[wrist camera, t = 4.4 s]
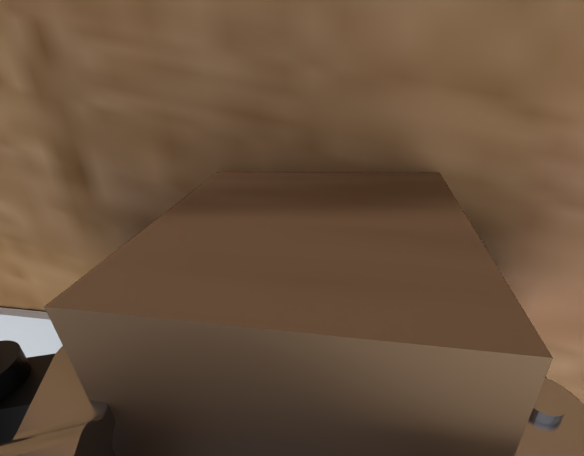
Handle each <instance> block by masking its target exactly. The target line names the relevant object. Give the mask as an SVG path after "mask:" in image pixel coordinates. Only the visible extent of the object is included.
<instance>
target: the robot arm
mask: <svg viewBox="0 0 584 456" xmlns="http://www.w3.org/2000/svg"><path fill="white" fill-rule="evenodd" d="M115 423H116V421H115V418H114V416H113V414H112V412H111V409H110V407H109V405H108V403H105V402H99V401H93V400H89V399H88V397H87V395H86V393H85V391H84V388H83V386H82V384H81V382H80V380H79V378H78V376H77V374H76V372H75V370H74V368H73V366H72V364H71V362H70V359H69V357H68V355H67V353H66V351H65V349H64V347H63V346H62V347H61V348H60V349H59V350H58V351H57V353H55V354H48V355H41V356H35V357H28V358H26V356H25V354H24V352H23V351H22V349H21V347H20V345H19V344H18V343H17V342H15V341H10V340H4V341H0V456H116V455H115V453H114V451H113V448H112V440H113V432H114V427H115ZM514 456H584V404H583V403H582V402H581V401H580V400H579V399H578V398H577V397H576V396H575V395H573V394H572V393H571V392H570V391H568V390H567V389H565V388H564V387H562V386H561V385H559V384H557V383H556V382H554V381H552V380H549V379H547V377H545V379H544V382H543V384H542V387H541V389H540V392H539V394H538V397H537V400H536V402H535V405H534V407H533V410H532V412H531V415H530V417H529V420H528V422H527V425H526V427H525V430H524V433H523V435H522V438H521V440H520V443H519V445H518V448H517V450H516V453H515V455H514Z"/></svg>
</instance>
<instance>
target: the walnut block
mask: <svg viewBox="0 0 584 456" xmlns="http://www.w3.org/2000/svg"><path fill="white" fill-rule="evenodd" d="M44 308H45V310H46V312H47V314H48V316H49V318H50V320H51V322H52V324H53V326H54V328H55V330H56V332H57V335H58V337H59V339H60V341H61V343H62V345H63V347H64V349H65V351H66V353H67V355H68V357H69V359H70V362H71V364H72V366H73V368H74V370H75V372H76V374H77V376H78V378H79V380H80V382H81V384H82V386H83V388H84V391H85V393H86V395H87V397H88V399H89V400H93V401H99V402H105V403H108V405H109V407H110V409H111V412H112V414H113V416H114V418H115V421H116V423H115V427H114V432H113V440H112V448H113V451H114V453H115V455H116V456H514V455H515V453H516V450H517V448H518V445H519V443H520V440H521V438H522V435H523V433H524V430H525V427H526V425H527V422H528V420H529V417H530V415H531V412H532V410H533V407H534V405H535V402H536V400H537V397H538V394H539V392H540V389H541V387H542V384H543V382H544V379H545V377H546V374H547V372H548V369H549V367H550V364H551V362H552V359H553V357H552V356H551V354H550V352H549V351H548V349H547V348H546V346H545V344H544V343H543V341H542V339H541V338H540V336H539V335H538V333H537V331H536V330H535V328H534V326H533V325H532V323H531V321H530V320H529V318H528V317H527V315H526V313H525V312H524V310H523V308H522V307H521V305H520V303H519V302H518V300H517V299H516V297H515V295H514V294H513V292H512V290H511V289H510V287H509V286H508V284H507V282H506V281H505V279H504V277H503V276H502V274H501V272H500V271H499V269H498V268H497V266H496V264H495V263H494V261H493V259H492V258H491V256H490V254H489V253H488V251H487V250H486V248H485V246H484V245H483V243H482V241H481V240H480V238H479V237H478V235H477V233H476V232H475V230H474V228H473V227H472V225H471V223H470V222H469V220H468V219H467V217H466V215H465V214H464V212H463V210H462V209H461V207H460V205H459V204H458V202H457V201H456V199H455V197H454V196H453V194H452V192H451V191H450V189H449V188H448V186H447V184H446V183H445V181H444V179H443V178H442V176H441V174H440V173H363V172H217V173H216V174H215V175H213V176H212V177H211V178H209V179H208V180H207V181H205V182H204V183H203V184H202V185H200V186H199V187H198V188H196V189H195V190H194V191H193V192H191V193H190V194H189V195H187V196H186V197H185V198H184V199H182V200H181V201H180V202H178V203H177V204H176V205H175V206H173V207H172V208H171V209H169V210H168V211H167V212H166V213H164V214H163V215H162V216H160V217H159V218H158V219H157V220H155V221H154V222H153V223H151V224H150V225H149V226H147V227H146V228H145V229H144V230H142V231H141V232H140V233H138V234H137V235H136V236H135V237H133V238H132V239H131V240H129V241H128V242H127V243H126V244H124V245H123V246H122V247H120V248H119V249H118V250H117V251H115V252H114V253H113V254H111V255H110V256H109V257H108V258H106V259H105V260H104V261H102V262H101V263H100V264H99V265H97V266H96V267H95V268H93V269H92V270H91V271H90V272H88V273H87V274H86V275H84V276H83V277H82V278H80V279H79V280H78V281H77V282H75V283H74V284H73V285H71V286H70V287H69V288H68V289H66V290H65V291H64V292H62V293H61V294H60V295H59V296H57V297H56V298H55V299H53V300H52V301H51V302H50V303H48V304H47V305H46V306H44Z"/></svg>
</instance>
